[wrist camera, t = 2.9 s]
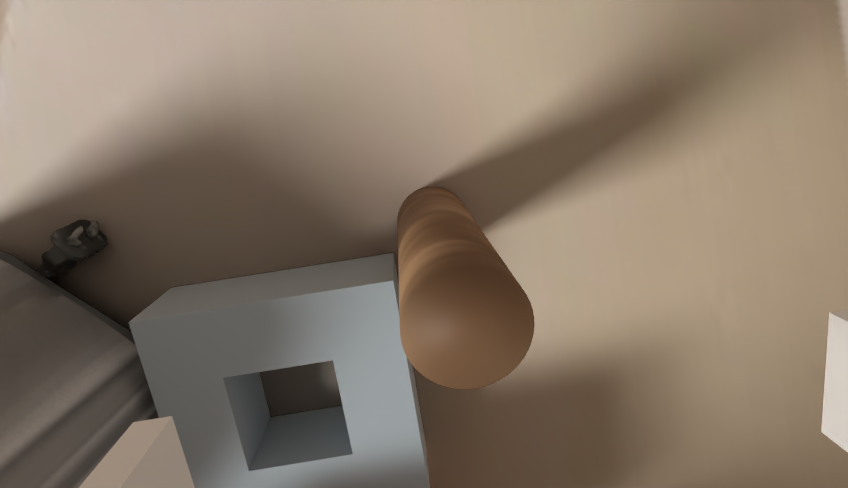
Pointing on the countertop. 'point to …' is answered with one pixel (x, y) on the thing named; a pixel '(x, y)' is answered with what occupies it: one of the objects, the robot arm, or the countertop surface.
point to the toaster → (62, 371)
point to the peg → (457, 296)
